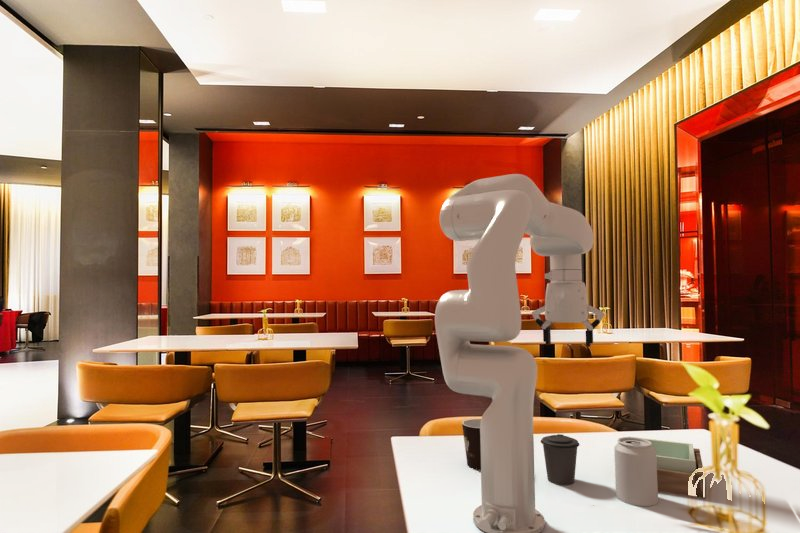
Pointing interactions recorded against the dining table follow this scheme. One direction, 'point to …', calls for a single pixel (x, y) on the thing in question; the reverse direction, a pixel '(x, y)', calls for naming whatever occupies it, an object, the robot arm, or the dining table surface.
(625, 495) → the can
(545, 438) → the coffee cup
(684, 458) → the sage crate
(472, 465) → the coffee mug
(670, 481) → the walnut crate
